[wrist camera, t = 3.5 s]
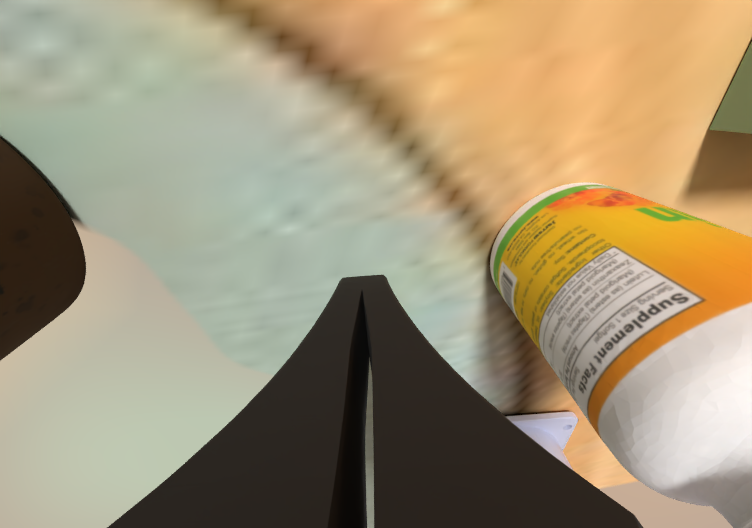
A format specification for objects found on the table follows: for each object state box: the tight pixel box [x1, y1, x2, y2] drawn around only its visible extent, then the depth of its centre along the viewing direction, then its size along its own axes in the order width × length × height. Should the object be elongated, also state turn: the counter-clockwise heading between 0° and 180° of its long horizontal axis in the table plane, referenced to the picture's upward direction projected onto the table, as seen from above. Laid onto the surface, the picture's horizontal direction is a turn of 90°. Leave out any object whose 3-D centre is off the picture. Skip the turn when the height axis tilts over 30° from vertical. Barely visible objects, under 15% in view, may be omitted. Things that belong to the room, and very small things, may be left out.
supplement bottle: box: [490, 183, 752, 528], centre depth 7 cm, size 5×5×10 cm
